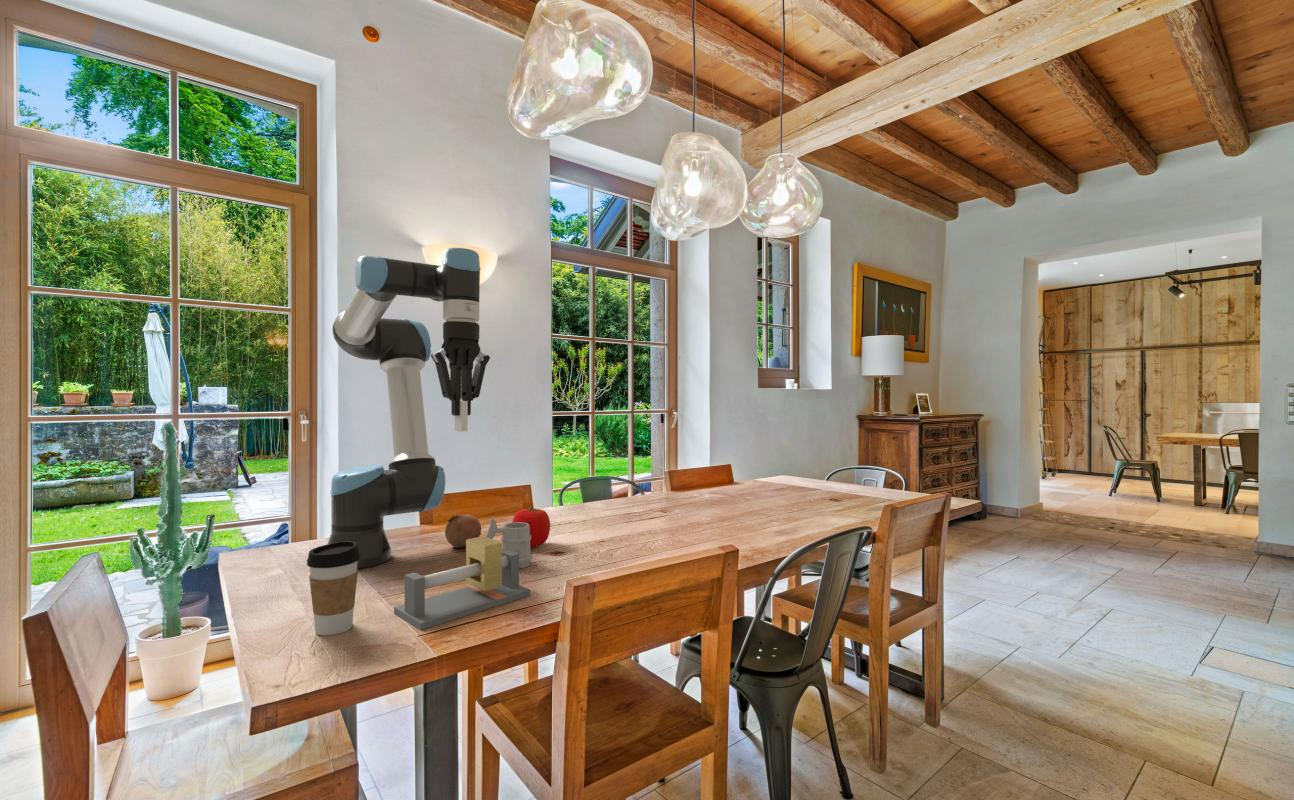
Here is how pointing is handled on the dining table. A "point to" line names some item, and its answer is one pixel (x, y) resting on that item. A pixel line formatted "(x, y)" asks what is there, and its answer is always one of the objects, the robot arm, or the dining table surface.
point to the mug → (514, 539)
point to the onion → (462, 529)
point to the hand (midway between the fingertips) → (461, 430)
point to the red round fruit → (535, 524)
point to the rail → (458, 594)
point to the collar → (485, 562)
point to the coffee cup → (333, 586)
